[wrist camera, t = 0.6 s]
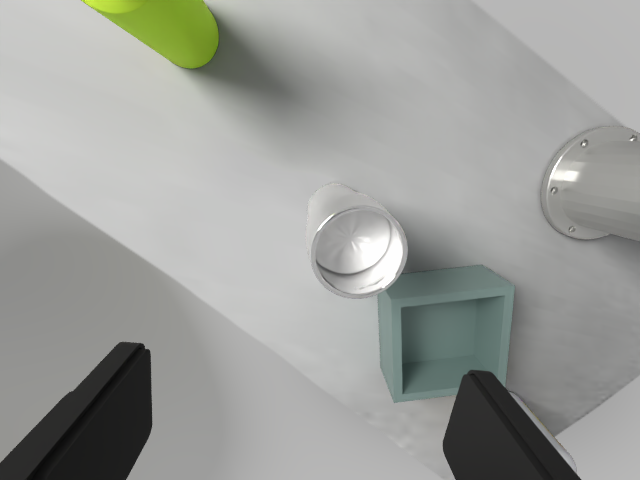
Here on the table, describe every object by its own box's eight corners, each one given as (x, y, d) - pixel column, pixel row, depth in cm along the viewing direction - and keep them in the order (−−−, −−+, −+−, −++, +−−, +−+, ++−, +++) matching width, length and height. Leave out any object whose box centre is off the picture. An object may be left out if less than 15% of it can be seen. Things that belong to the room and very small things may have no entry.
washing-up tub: (482, 264, 38) (515, 285, 33) (476, 355, 42) (505, 388, 36) (376, 276, 38) (391, 299, 32) (380, 367, 42) (393, 402, 36)
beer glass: (298, 184, 34) (298, 211, 20) (361, 174, 34) (407, 193, 20) (308, 245, 36) (315, 309, 22) (368, 235, 36) (414, 292, 22)
